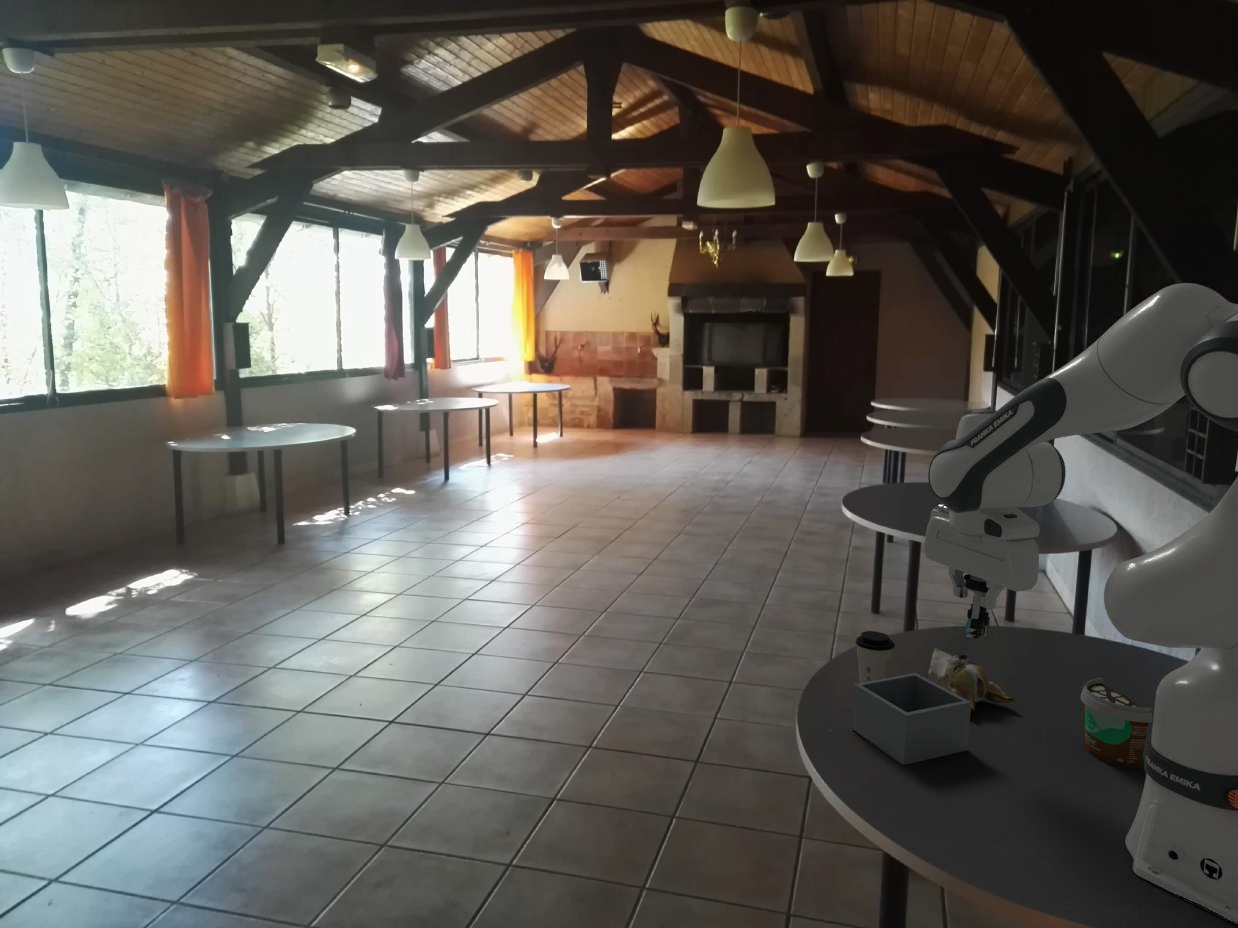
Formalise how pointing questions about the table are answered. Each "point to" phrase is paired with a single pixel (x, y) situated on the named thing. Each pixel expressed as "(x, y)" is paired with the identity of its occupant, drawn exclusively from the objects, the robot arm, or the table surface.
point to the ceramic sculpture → (964, 679)
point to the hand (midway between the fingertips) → (973, 601)
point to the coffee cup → (874, 655)
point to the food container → (1114, 725)
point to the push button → (976, 608)
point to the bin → (911, 717)
